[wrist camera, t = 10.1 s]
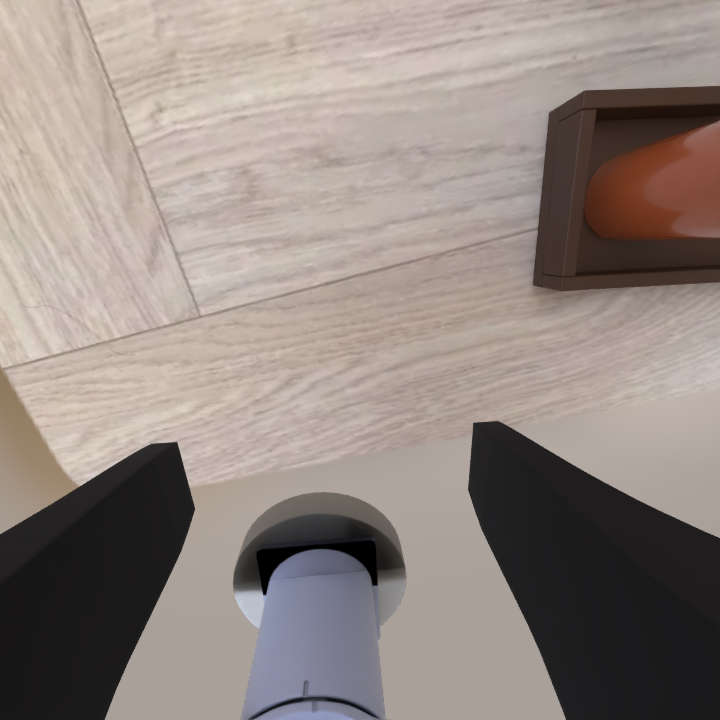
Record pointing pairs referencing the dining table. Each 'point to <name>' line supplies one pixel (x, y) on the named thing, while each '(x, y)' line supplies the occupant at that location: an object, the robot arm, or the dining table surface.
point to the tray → (580, 162)
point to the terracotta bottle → (659, 190)
